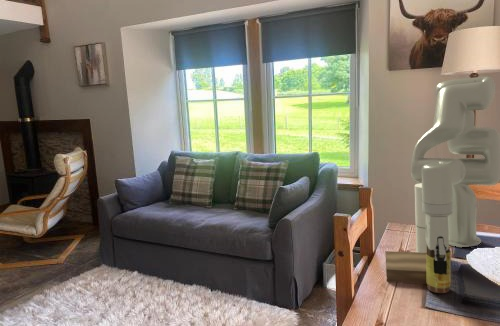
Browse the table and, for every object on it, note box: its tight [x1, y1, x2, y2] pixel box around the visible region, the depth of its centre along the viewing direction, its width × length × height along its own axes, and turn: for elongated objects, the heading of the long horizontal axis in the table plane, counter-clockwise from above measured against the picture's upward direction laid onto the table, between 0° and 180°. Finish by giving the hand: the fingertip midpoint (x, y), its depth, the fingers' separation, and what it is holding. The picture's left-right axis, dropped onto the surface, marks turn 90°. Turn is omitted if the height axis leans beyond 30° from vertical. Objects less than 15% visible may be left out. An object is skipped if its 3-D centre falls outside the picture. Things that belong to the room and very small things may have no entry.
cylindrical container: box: [414, 182, 427, 253], centre depth 129 cm, size 7×7×25 cm
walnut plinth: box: [384, 250, 427, 285], centre depth 119 cm, size 14×14×4 cm
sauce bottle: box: [426, 240, 452, 294], centre depth 106 cm, size 7×6×20 cm
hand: (438, 267), depth 107 cm, fingers closed on sauce bottle, 6 cm apart
